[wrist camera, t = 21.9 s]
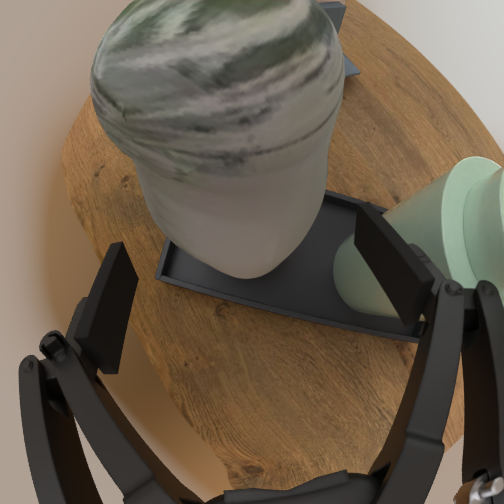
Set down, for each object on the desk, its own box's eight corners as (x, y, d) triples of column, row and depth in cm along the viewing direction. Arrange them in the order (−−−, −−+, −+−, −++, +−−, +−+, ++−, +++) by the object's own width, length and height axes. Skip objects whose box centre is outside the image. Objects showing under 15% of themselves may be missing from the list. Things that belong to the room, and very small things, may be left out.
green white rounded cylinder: (217, 181, 33) (155, -62, 5) (301, 213, 32) (427, -14, 4) (182, 260, 31) (-38, 123, 4) (269, 296, 31) (415, 289, 3)
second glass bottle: (315, 265, 31) (541, 140, 4) (374, 212, 32) (555, 69, 5) (367, 332, 30) (602, 382, 2) (421, 275, 31) (627, 229, 3)
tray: (162, 280, 32) (154, 278, 29) (198, 167, 34) (194, 156, 31) (411, 341, 31) (422, 344, 28) (430, 234, 33) (441, 229, 30)
